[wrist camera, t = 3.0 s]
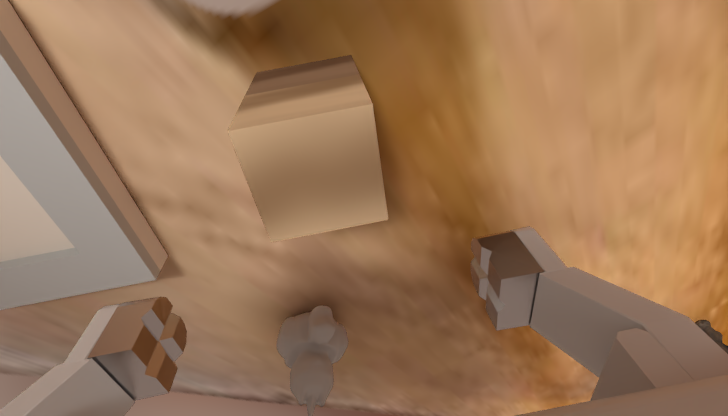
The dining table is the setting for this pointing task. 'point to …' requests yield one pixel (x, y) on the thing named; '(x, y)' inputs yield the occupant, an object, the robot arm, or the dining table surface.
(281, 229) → the light brown wooden block
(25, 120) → the grey picture frame
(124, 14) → the dining table surface
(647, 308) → the robot arm
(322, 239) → the dining table surface
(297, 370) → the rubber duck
